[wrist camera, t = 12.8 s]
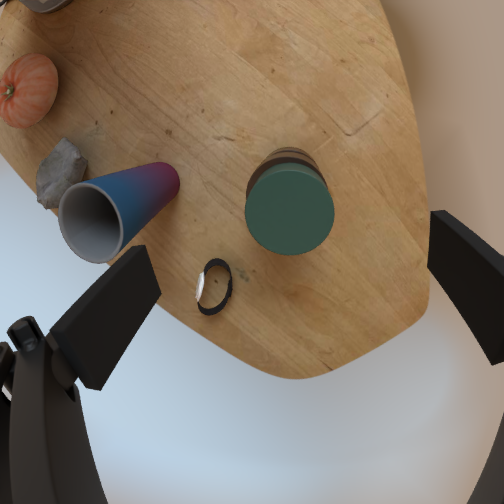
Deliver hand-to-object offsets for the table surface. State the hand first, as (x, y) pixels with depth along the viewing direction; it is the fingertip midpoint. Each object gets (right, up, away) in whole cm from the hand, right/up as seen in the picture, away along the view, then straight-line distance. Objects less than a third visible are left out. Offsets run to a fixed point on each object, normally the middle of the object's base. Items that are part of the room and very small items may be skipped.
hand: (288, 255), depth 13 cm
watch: (-6, -5, +24) cm, 25 cm away
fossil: (-25, +12, +22) cm, 36 cm away
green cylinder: (+1, +4, +10) cm, 11 cm away
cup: (-12, +9, +22) cm, 27 cm away
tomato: (-31, +23, +18) cm, 43 cm away
